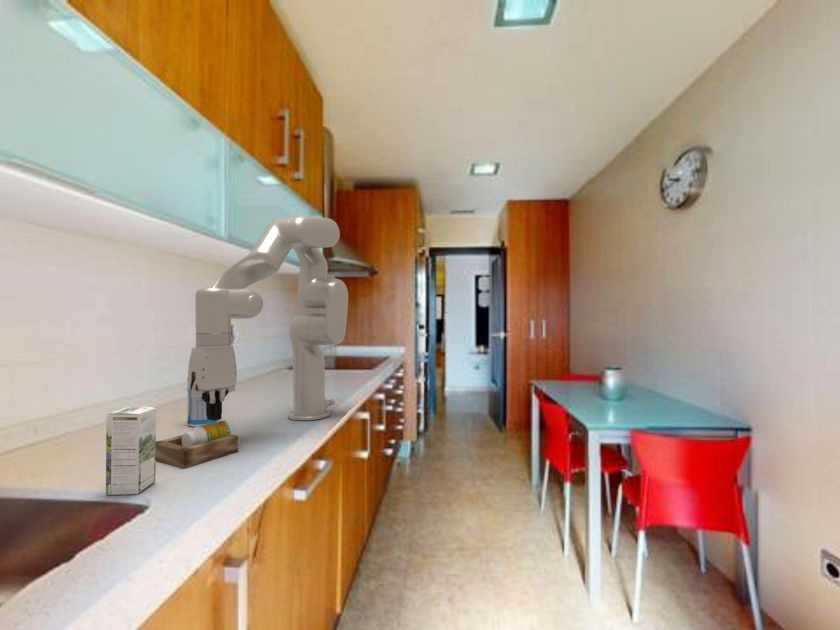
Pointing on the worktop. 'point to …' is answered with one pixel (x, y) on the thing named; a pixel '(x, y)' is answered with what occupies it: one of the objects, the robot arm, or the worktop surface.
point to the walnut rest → (194, 451)
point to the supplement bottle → (206, 433)
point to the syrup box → (130, 450)
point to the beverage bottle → (197, 411)
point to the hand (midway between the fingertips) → (214, 419)
